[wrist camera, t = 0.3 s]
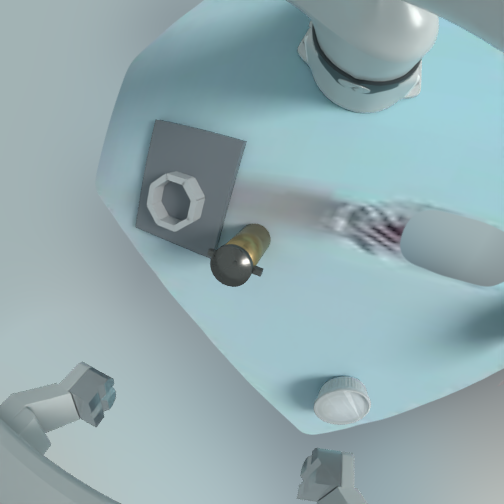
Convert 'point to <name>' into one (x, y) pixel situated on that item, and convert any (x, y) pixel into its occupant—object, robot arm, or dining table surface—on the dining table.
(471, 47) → the dining table surface
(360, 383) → the ramekin
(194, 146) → the socket base
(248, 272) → the cylinder
